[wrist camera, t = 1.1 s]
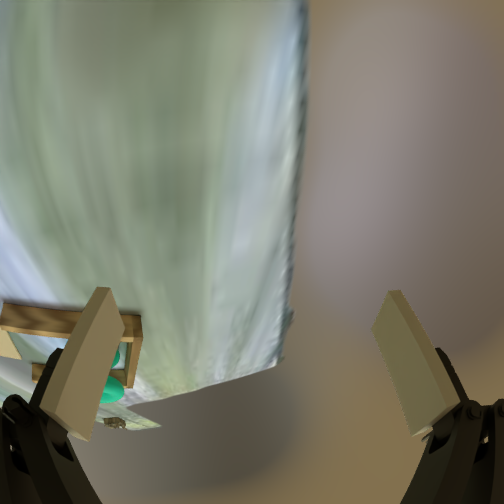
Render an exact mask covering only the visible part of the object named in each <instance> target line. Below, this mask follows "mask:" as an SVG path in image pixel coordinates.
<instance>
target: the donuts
mask: <svg viewBox="0 0 504 504" xmlns="http://www.w3.org/2000/svg"><path fill="white" fill-rule="evenodd" d="M119 359H120V354H119V351H118V349H117V351H116V354H115V357H114V360H113V363H112V366H111V368H113V367H114V366H115V365H116V364H117V363H118V362H119ZM123 395H124V387H123V385H122V384H121V383H120V382H119V381H118V380H117V379H115V378H113V377H111V376H108V378H107V381H106V384H105V387H104V390H103V394H102V397H101V400H100V403H110V402H114V401H117V400H119V399H121V398H122V397H123Z"/></svg>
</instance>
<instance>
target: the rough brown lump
mask: <svg viewBox="0 0 504 504" xmlns="http://www.w3.org/2000/svg"><path fill="white" fill-rule="evenodd" d="M104 424H105V426H106V427H109V428H110V429H112V428H116V427H118V428H119V426H122V428H123V429H126V428H125V426H126V423H125V421H122V419H119V418H115V417H113V418H105V419H104ZM126 430H127V429H126Z"/></svg>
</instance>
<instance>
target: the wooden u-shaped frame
mask: <svg viewBox="0 0 504 504" xmlns="http://www.w3.org/2000/svg"><path fill="white" fill-rule="evenodd" d="M81 314H82V312H73V311H63V310H53V309H44V308H36V307H28V306H20V305H13V304H7V303H3V308H2V312H1V317H0V328H1V330H4V331H10V332H17V333H23V334H30V335H38V336H47V337H56V338H66V339H69V337H70V335H71V333H72V331H73V329H74V327H75V326H76V324H77V322H78V320H79V318H80V316H81ZM120 316H121V319H122V321H123V324H124V326H125V330H124V332H123V335H122V338H121V340H120V342H127V350H126V359H125V369H124V370H110V372H109V375H108V376H111V377H113V378H115V379H117V380H118V381H119V382H120V383H121V384H122V385H123V387H124V388H133V385H134V379H135V374H136V369H137V364H138V359H139V354H140V350H141V345H142V341H143V332H142V324H141V316H134V315H120ZM44 367H45V365H39V364H32V381H33V382H34V383H38V380H39V378H40V376H41V375H42V371H43V369H44Z"/></svg>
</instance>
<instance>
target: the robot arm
mask: <svg viewBox="0 0 504 504" xmlns="http://www.w3.org/2000/svg"><path fill="white" fill-rule="evenodd" d="M124 330H125V326H124V324H123V321H122V319H121V316H120V313H119V311H118V308H117V305H116V302H115V299H114V297H113V294H112V291H111V288H107V287H97V288H96V290H95V291H94V293H93V295H92V296H91V298H90V300H89V302H88V303H87V305H86V307H85V309H84V311H83V312H82V314H81V316H80V318H79V320H78V322H77V324H76V326H75V327H74V329H73V331H72V333H71V335H70V337H69V339H68V341H67V343H66V345H65V347H64V349H61V348H57V349H56V350H55V351H54V352H53V353H52V354H51V355H50V356H49V358H48V361H47V363H46V365H45V367H44V369H43V371H42V375H41V376H40V378H39V380H38V383H37V385H36V388H35V390H34V392H33V395H32V397H31V400H30V402H29V404H28V403H27V402H26V401H25V400H24V399H23V398H22V397H21V396H20V395H17V394H13V395H10V396H8V397H7V398H6V399H5V401H4V402H3V406H2V409H1V408H0V504H102V502H101V501H100V499H99V498H98V496H97V494H96V493H95V491H94V489H93V487H92V486H91V484H90V482H89V480H88V478H87V476H86V474H85V473H84V471H83V469H82V467H81V465H80V463H79V460H78V458H77V456H76V454H75V452H74V450H73V448H72V445H71V443H70V441H69V439H68V437H67V433H68V432H69V433H70V434H72V435H73V436H74V437H77V438H80V439H82V440H86V441H88V442H89V441H90V437H91V433H92V429H93V425H94V422H95V418H96V414H97V411H98V407H99V404H100V400H101V397H102V394H103V390H104V387H105V384H106V381H107V378H108V375H109V372H110V369H111V366H112V363H113V360H114V357H115V354H116V351H117V349H118V346H119V343H120V340H121V338H122V335H123V332H124ZM371 331H372V333H373V335H374V337H375V340H376V342H377V344H378V347H379V349H380V352H381V354H382V357H383V359H384V362H385V364H386V367H387V369H388V372H389V374H390V377H391V380H392V382H393V385H394V387H395V390H396V393H397V395H398V398H399V401H400V404H401V407H402V410H403V412H404V416H405V418H406V421H407V425H408V427H409V430H410V434H411V436H415V435H417V434H420V433H423V432H425V431H426V430H428V429H429V428H430V427H431V426H432V427H433V430H432V431H431V432H430V433H429V434H427V435H426V436H425V437H423V439H422V442H423V441H425V440H426V439H428V438H429V439H428V441H427V442H426V443H427V445H426V448H425V450H424V453H423V455H422V458H421V460H420V463H419V465H418V467H417V470H416V472H415V474H414V477H413V479H412V481H411V483H410V485H409V487H408V489H407V491H406V493H405V495H404V497H403V499H402V501H401V503H400V504H504V399H498V400H497V401H496V402H495V403H494V404H493V405H486V406H481V405H480V404H479V403H478V402H476V401H474V400H469V398H468V397H467V395H466V393H465V390H464V388H463V386H462V384H461V382H460V380H459V378H458V376H457V374H456V373H455V370H454V368H453V366H451V362H450V360H449V358H448V356H447V355H446V354H445V353H444V352H443V351H442V350H441V349H440V348H434V346H433V344H432V343H431V341H430V339H429V337H428V335H427V334H426V332H425V330H424V328H423V327H422V325H421V323H420V321H419V320H418V318H417V316H416V315H415V313H414V311H413V310H412V308H411V306H410V305H409V303H408V301H407V300H406V298H405V297H404V295H403V294H402V292H401V290H393V291H388V292H387V295H386V297H385V299H384V302H383V304H382V306H381V309H380V311H379V313H378V315H377V317H376V320H375V322H374V324H373V326H372V328H371ZM487 436H488V442H487V443H484V439H485V438H486V437H487ZM10 445H11V446H12V450H11V449H10Z"/></svg>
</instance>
